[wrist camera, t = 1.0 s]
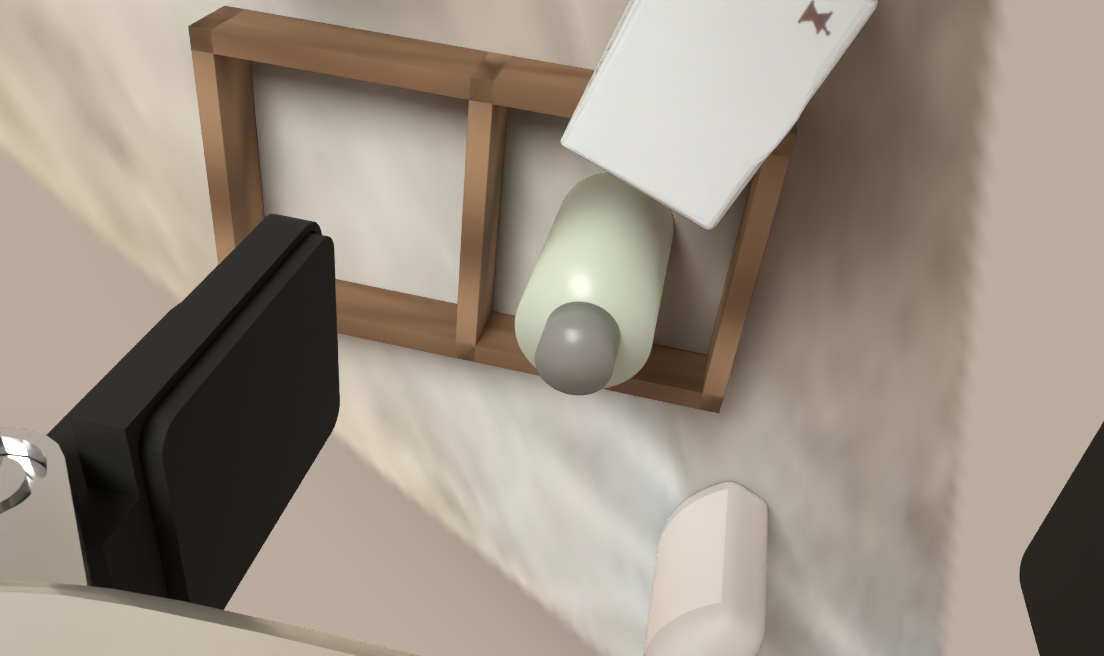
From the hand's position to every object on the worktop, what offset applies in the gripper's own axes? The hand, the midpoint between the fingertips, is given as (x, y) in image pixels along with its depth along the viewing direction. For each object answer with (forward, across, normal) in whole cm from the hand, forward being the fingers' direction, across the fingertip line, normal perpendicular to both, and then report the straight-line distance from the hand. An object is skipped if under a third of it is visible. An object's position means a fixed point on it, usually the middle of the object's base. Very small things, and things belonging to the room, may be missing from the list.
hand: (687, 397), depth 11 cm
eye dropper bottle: (+22, -4, +24) cm, 33 cm away
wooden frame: (+22, +8, +10) cm, 25 cm away
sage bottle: (+22, +3, +10) cm, 24 cm away
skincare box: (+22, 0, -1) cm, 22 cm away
